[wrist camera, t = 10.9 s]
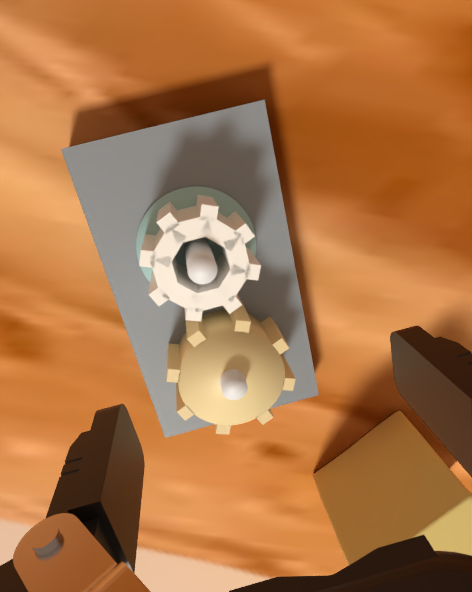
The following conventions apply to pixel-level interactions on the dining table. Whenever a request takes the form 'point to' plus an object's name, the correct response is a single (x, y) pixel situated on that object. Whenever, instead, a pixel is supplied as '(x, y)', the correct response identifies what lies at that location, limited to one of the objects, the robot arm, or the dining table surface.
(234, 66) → the dining table surface
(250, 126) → the gear board
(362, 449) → the cheese
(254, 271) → the nylon gear
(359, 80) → the dining table surface
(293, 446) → the dining table surface
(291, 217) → the dining table surface
